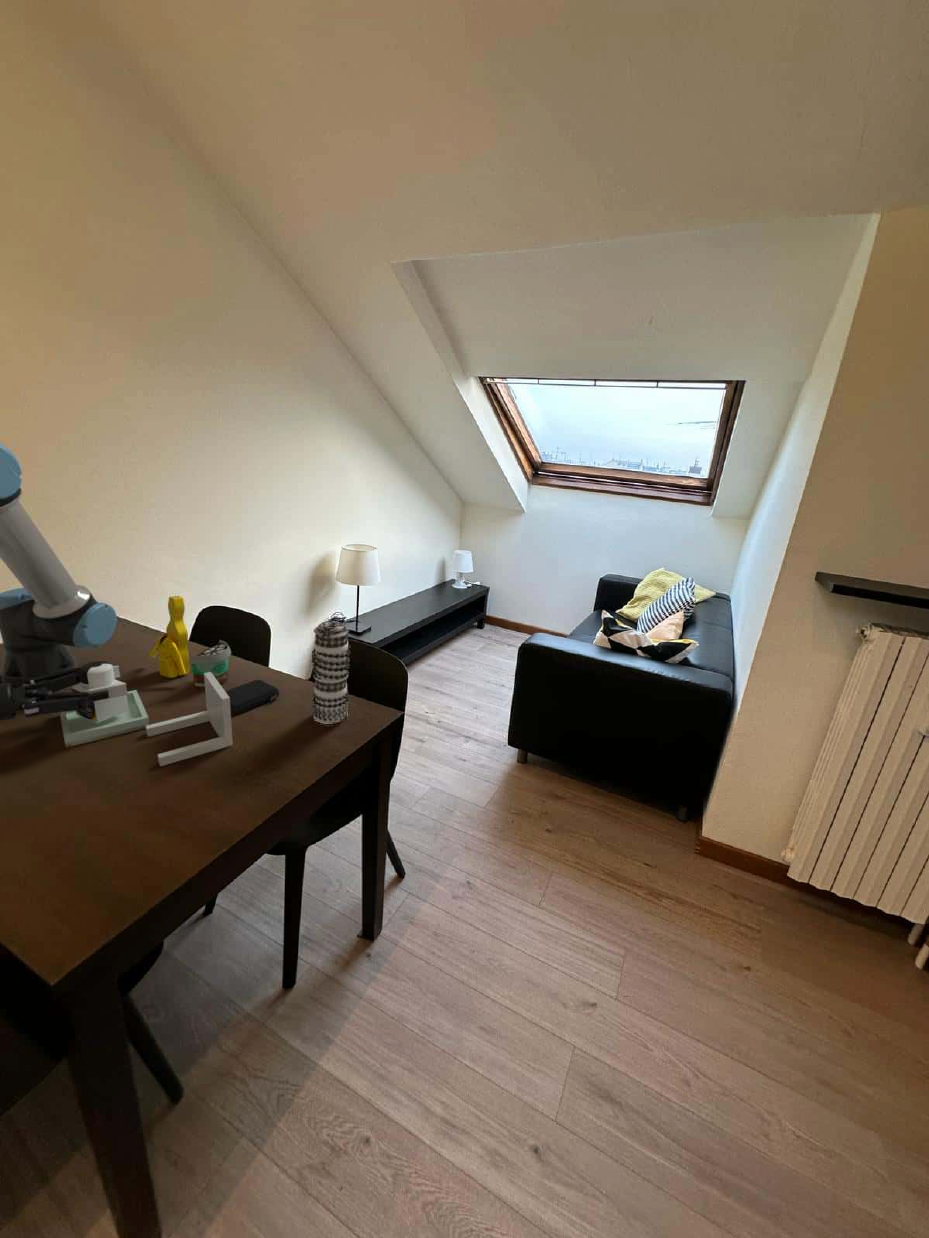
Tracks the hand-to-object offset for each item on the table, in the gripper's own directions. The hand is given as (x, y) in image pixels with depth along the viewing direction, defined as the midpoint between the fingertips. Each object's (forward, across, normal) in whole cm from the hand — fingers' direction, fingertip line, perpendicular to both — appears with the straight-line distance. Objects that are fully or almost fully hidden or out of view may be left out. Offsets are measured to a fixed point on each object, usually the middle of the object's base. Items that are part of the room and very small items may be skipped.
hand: (122, 679), depth 111 cm
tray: (-4, 0, -10) cm, 10 cm away
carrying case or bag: (+25, +6, -10) cm, 28 cm away
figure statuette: (+14, -18, -10) cm, 25 cm away
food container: (+22, -7, -10) cm, 25 cm away
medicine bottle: (-4, 0, -7) cm, 9 cm away
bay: (+10, +17, -10) cm, 22 cm away
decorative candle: (+40, +24, -10) cm, 47 cm away
